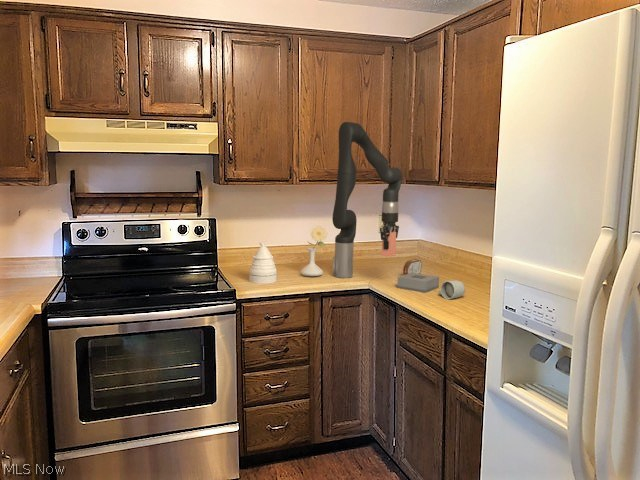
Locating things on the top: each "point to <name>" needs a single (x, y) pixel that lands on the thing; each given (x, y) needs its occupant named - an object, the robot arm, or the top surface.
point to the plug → (390, 245)
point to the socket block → (418, 282)
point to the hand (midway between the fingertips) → (388, 248)
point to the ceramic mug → (452, 289)
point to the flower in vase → (312, 268)
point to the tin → (412, 266)
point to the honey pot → (263, 267)
